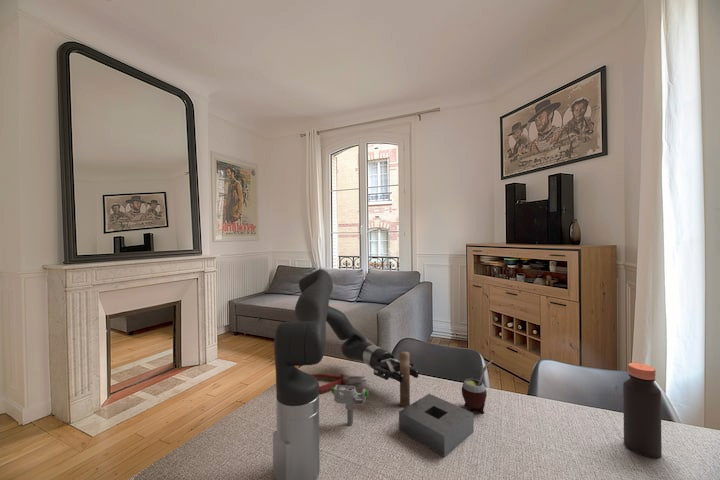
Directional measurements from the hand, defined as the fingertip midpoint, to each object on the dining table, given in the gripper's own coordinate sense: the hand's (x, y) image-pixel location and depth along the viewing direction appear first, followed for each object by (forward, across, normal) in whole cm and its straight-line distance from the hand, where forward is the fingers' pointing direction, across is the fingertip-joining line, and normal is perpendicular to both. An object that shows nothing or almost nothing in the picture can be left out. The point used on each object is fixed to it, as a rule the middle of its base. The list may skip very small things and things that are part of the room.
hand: (410, 376), depth 92 cm
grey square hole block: (+12, -2, +10) cm, 15 cm away
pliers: (-25, -13, +10) cm, 30 cm away
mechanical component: (-3, -19, +10) cm, 22 cm away
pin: (-3, 0, +10) cm, 10 cm away
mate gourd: (+11, +17, +10) cm, 22 cm away
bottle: (+44, +36, +10) cm, 57 cm away
